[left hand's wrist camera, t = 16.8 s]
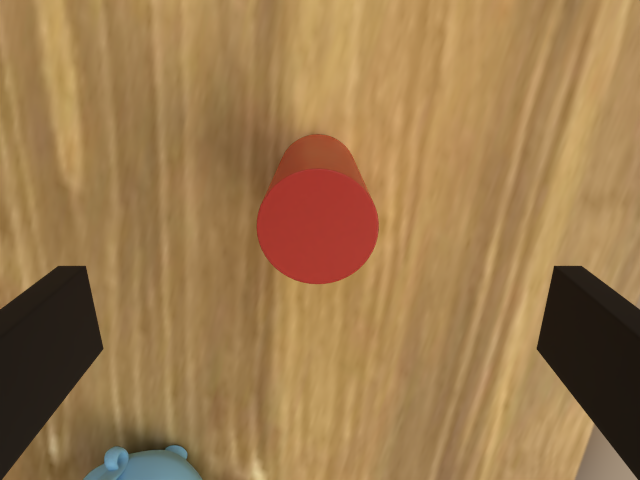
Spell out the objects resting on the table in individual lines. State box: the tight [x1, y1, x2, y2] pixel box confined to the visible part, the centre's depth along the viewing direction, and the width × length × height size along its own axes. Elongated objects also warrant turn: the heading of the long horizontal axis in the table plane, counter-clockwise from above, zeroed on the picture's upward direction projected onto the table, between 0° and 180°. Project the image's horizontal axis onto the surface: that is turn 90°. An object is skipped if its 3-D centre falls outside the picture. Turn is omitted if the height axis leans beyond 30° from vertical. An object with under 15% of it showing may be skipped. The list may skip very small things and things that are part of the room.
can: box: [257, 134, 379, 284], centre depth 26 cm, size 6×6×13 cm
